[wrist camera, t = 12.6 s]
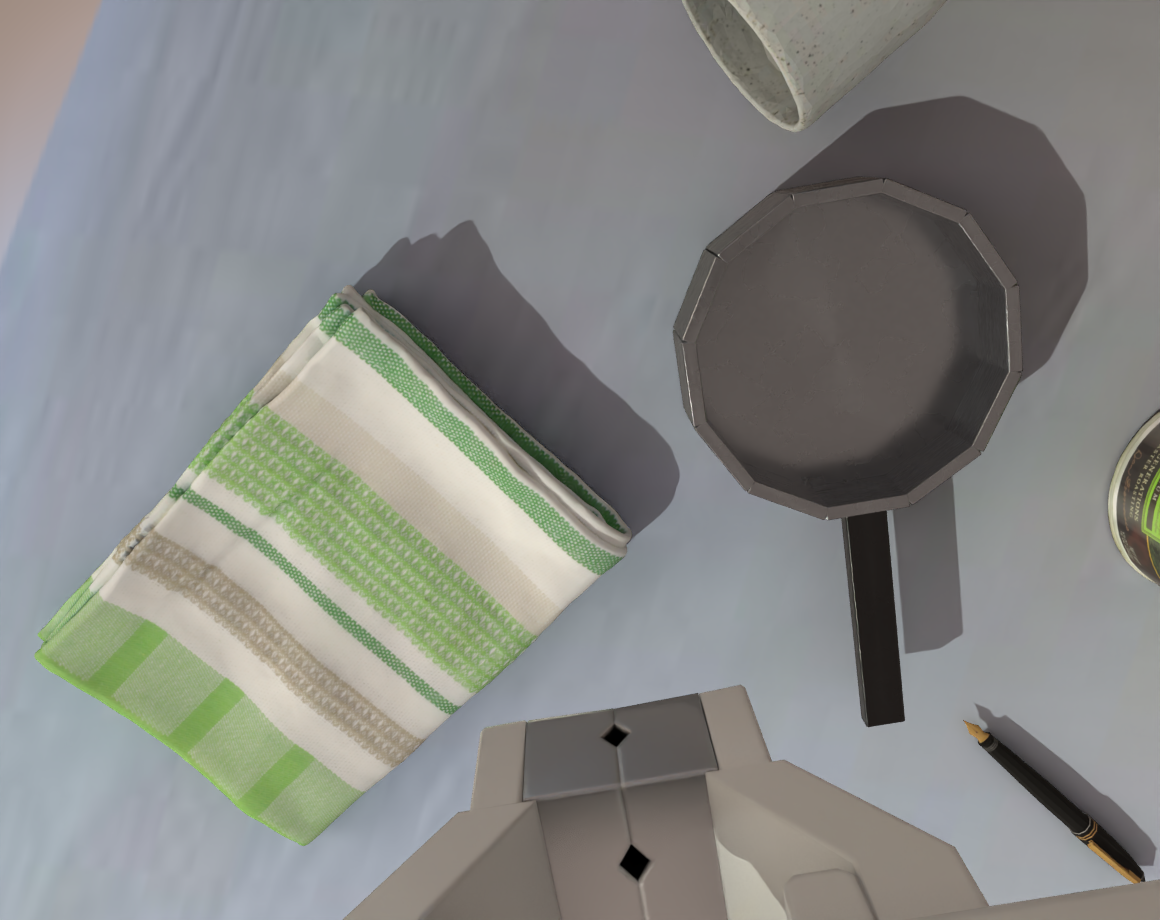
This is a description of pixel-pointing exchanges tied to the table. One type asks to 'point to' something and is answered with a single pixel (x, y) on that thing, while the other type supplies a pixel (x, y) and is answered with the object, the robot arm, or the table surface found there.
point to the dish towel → (334, 572)
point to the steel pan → (851, 370)
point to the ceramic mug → (803, 48)
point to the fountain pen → (1061, 807)
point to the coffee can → (1138, 501)
